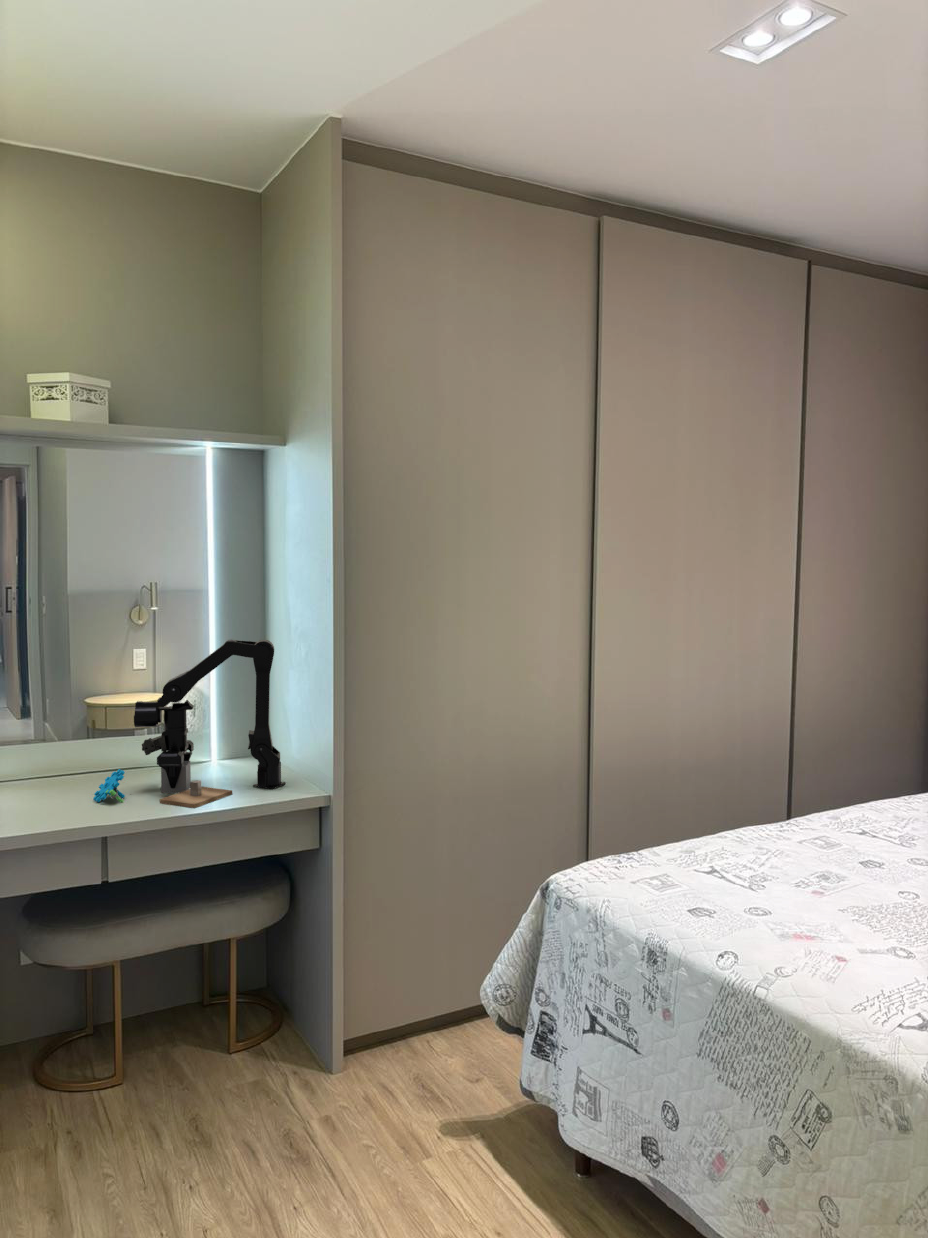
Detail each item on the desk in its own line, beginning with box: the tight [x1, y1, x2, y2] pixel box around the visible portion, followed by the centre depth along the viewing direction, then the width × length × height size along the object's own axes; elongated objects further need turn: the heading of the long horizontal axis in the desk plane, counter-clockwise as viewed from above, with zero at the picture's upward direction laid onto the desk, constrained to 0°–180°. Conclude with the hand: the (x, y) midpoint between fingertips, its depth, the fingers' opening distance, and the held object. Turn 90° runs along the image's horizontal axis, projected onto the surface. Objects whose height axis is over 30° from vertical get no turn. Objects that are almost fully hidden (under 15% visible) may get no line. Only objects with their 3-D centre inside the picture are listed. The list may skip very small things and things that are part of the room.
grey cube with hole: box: [160, 760, 192, 794], centre depth 256 cm, size 6×6×7 cm
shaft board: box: [159, 779, 233, 809], centre depth 247 cm, size 15×11×4 cm
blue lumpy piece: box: [93, 768, 126, 804], centre depth 246 cm, size 11×6×10 cm
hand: (176, 784), depth 256 cm, fingers open, 9 cm apart
